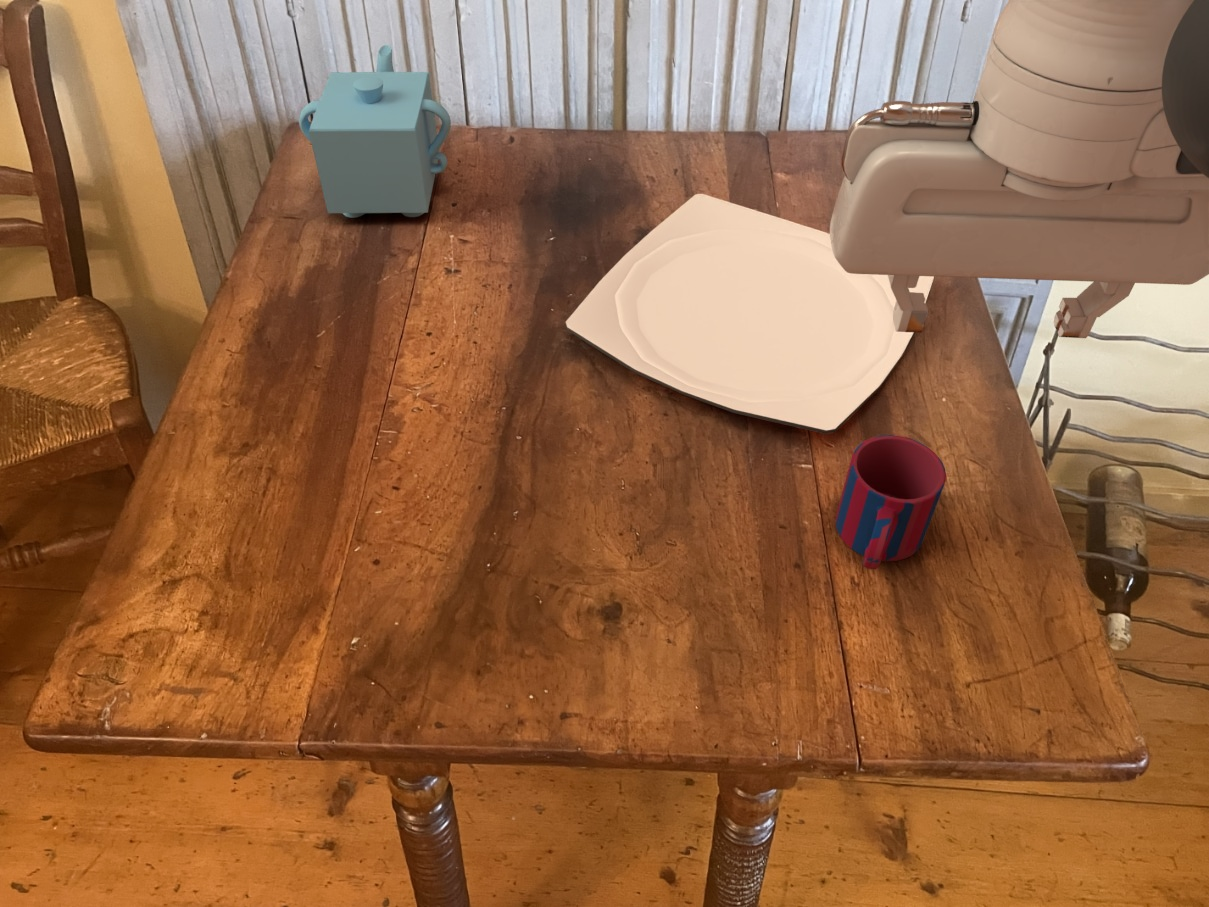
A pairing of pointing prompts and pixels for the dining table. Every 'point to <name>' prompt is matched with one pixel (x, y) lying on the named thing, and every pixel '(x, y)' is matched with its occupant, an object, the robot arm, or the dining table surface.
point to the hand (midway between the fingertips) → (987, 328)
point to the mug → (889, 498)
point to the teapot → (377, 140)
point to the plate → (747, 316)
